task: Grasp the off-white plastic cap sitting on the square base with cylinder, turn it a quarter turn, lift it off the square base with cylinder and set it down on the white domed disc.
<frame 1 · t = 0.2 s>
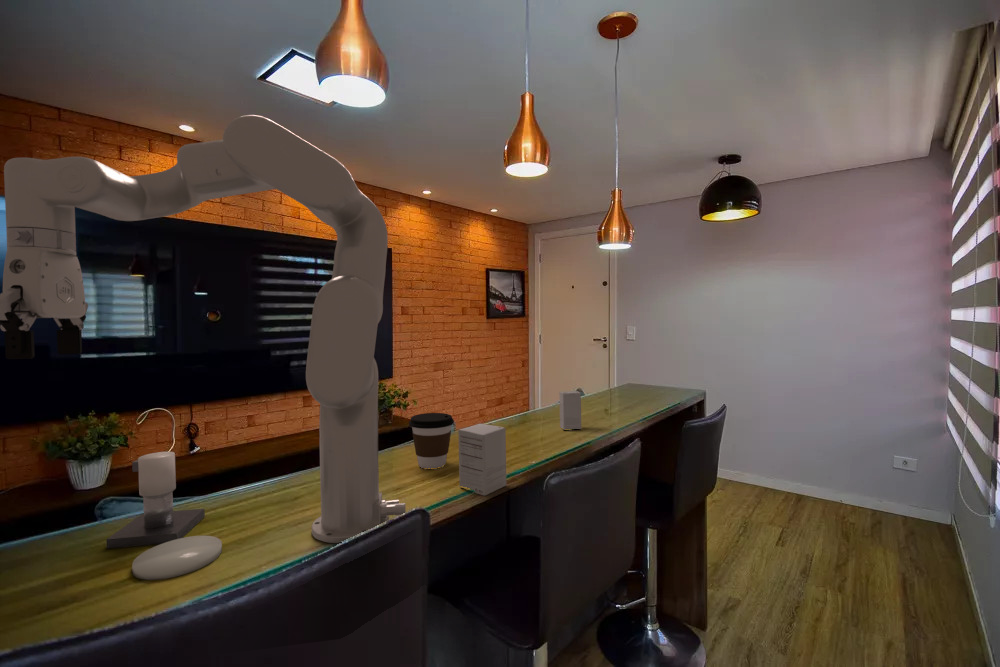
hand: (46, 356, 71), 31 cm above the bar counter, tool pointing down, fingers open, 9 cm apart
white domed disc: (179, 559, 70), on the bar counter
cap: (157, 490, 79), point 7 cm above the bar counter, touching square base with cylinder
supplement box: (482, 488, 98), on the bar counter
skincare box: (570, 430, 149), on the bar counter
coffee cup: (432, 466, 113), on the bar counter
square base with cylinder: (159, 531, 79), on the bar counter
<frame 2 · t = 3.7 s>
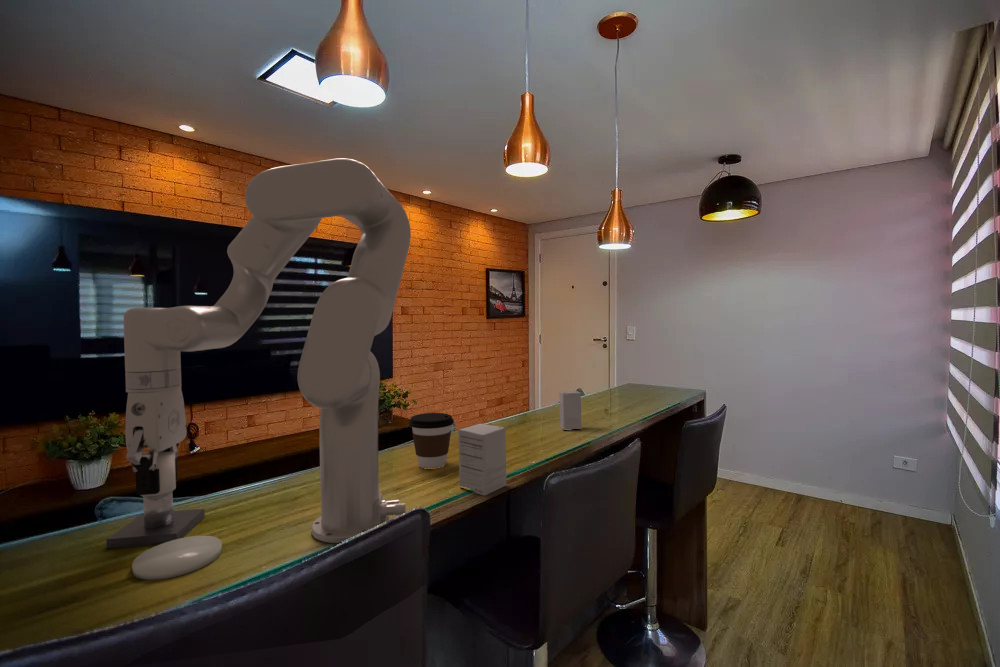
hand: (157, 486, 79), 8 cm above the bar counter, tool pointing down, fingers closed on cap, 4 cm apart
cap: (157, 490, 79), point 7 cm above the bar counter, touching gripper, square base with cylinder
everything else where it was.
when the fingers open (4 cm above the bar counter, at t = 11.0 s): cap drops 2 cm, resting on white domed disc.
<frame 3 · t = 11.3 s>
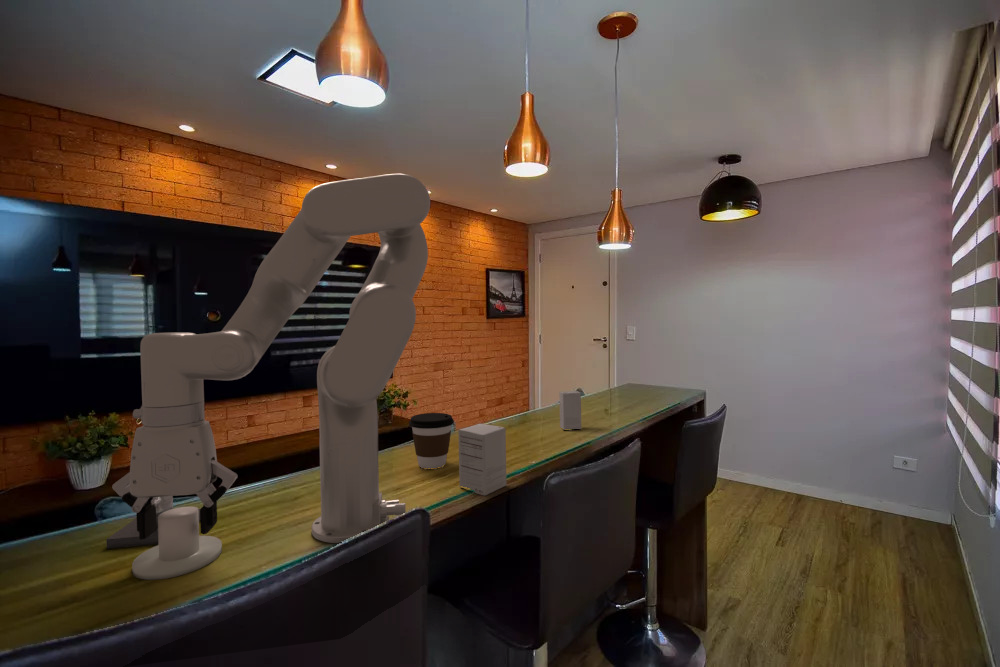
hand: (178, 531, 69), 4 cm above the bar counter, tool pointing down, fingers open, 7 cm apart
cap: (179, 552, 69), point 1 cm above the bar counter, touching white domed disc
everything else where it was.
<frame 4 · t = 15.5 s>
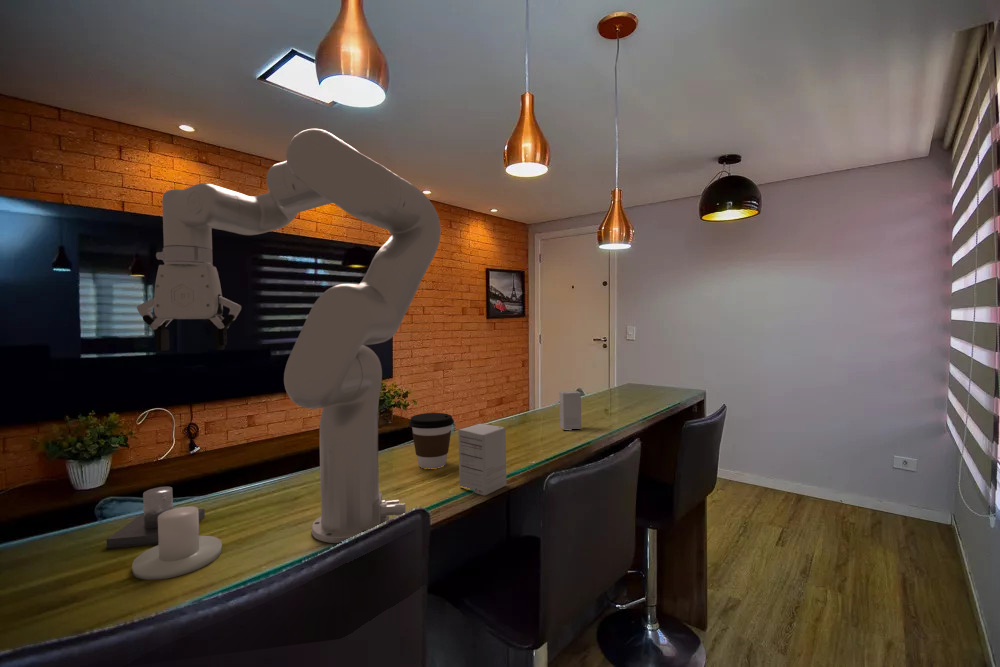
hand: (191, 350, 87), 30 cm above the bar counter, tool pointing down, fingers open, 9 cm apart
nothing on the bar counter moved.
at the end: cap 0.1 cm off-centre on the white domed disc, point 1.0 cm above the white domed disc's base; cap tilted 0°; the gripper is holding nothing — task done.
